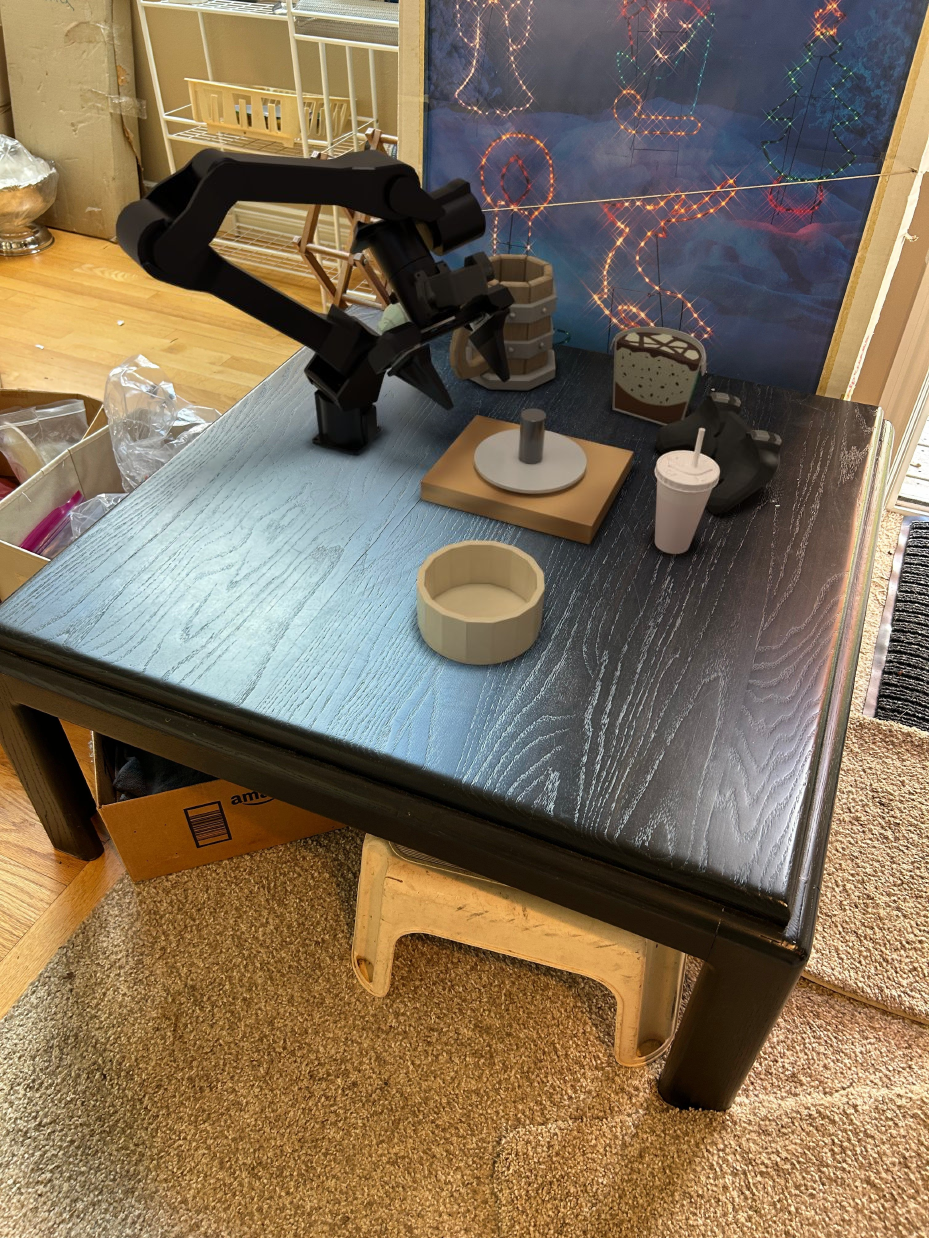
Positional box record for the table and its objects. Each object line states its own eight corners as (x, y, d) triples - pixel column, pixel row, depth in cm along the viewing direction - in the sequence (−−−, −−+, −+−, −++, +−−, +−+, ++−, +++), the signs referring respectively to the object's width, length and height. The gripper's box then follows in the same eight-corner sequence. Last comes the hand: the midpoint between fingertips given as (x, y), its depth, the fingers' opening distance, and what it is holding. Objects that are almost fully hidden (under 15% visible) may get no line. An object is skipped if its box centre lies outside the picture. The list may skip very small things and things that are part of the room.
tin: (397, 642, 85) (395, 599, 81) (449, 570, 93) (449, 528, 89) (513, 680, 82) (516, 637, 78) (557, 601, 90) (561, 559, 86)
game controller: (753, 531, 103) (810, 458, 98) (712, 517, 99) (768, 441, 94) (686, 456, 114) (733, 388, 109) (646, 441, 111) (694, 370, 106)
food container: (708, 413, 117) (724, 340, 110) (690, 434, 113) (706, 360, 107) (622, 387, 122) (632, 316, 115) (602, 406, 118) (611, 334, 111)
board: (420, 499, 102) (420, 481, 100) (476, 432, 113) (476, 414, 111) (589, 544, 96) (591, 526, 95) (630, 469, 107) (633, 451, 106)
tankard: (508, 340, 132) (513, 235, 122) (572, 370, 125) (583, 262, 115) (404, 384, 122) (400, 274, 112) (468, 420, 115) (470, 306, 105)
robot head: (386, 363, 126) (384, 317, 122) (367, 353, 128) (364, 307, 124) (428, 346, 130) (428, 300, 126) (410, 336, 132) (408, 291, 128)
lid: (471, 495, 98) (472, 443, 94) (476, 434, 108) (477, 384, 103) (588, 500, 98) (595, 448, 94) (583, 438, 108) (589, 388, 103)
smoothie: (701, 565, 94) (730, 450, 85) (640, 557, 95) (661, 442, 85) (702, 529, 99) (729, 416, 89) (643, 521, 100) (664, 408, 90)
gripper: (378, 256, 89) (457, 396, 91) (506, 210, 99) (575, 337, 101) (335, 308, 99) (407, 434, 100) (456, 262, 108) (519, 377, 110)
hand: (479, 394), depth 103 cm, fingers open, 9 cm apart
